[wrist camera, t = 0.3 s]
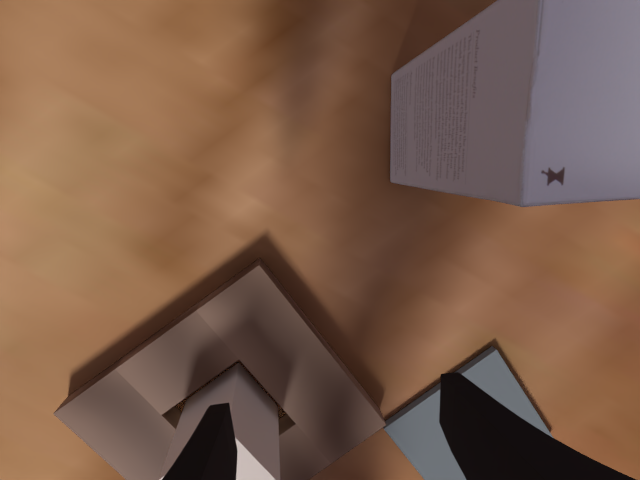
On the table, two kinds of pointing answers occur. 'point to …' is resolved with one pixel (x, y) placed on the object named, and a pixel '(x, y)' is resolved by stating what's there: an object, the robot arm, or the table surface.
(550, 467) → the robot arm
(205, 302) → the puzzle board
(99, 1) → the table surface
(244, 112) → the table surface
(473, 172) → the skincare box
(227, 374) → the cream block
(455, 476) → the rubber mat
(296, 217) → the table surface
